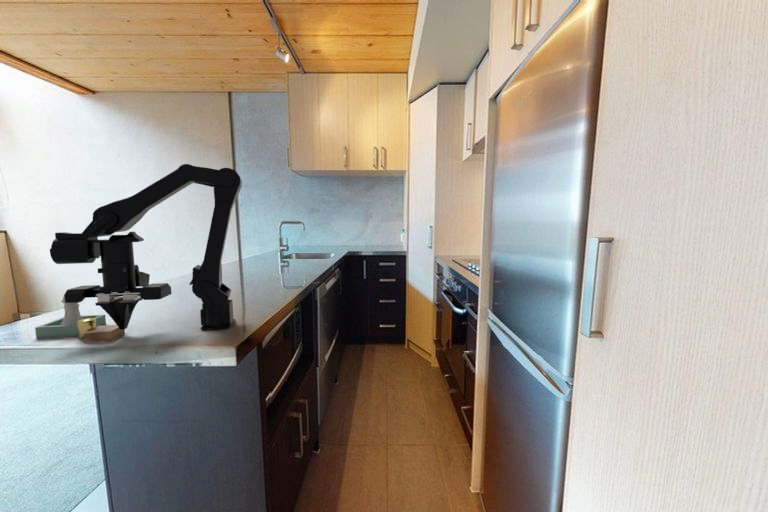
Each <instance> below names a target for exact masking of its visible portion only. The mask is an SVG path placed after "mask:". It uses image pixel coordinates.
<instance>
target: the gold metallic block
mask: <svg viewBox="0 0 768 512" xmlns="http://www.w3.org/2000/svg"><path fill="white" fill-rule="evenodd" d="M77 323H78V333H79V336H78V340H80V339H85V336H84V333H86V332H88V331H90V330H92V329H94V328H96V319H95V318H88V319H82V320H79V321H77Z"/></svg>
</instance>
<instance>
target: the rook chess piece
mask: <svg viewBox="0 0 768 512" xmlns="http://www.w3.org/2000/svg"><path fill="white" fill-rule="evenodd" d="M61 302H62V304H63V305H64V306H63V307H62V308H63V309H64V316H63V317H64V319H63V322H62V323H61V325H78V323H77V321H79V320H82V319H83V317H81V316H82V315H81V312H80V308H79V307H80V304H79V303H65V302H64V296H63V297H62V299H61Z"/></svg>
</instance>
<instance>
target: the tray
mask: <svg viewBox="0 0 768 512" xmlns="http://www.w3.org/2000/svg"><path fill="white" fill-rule="evenodd" d="M81 317H83V319H88V318H95V319H96V327H98V326H104V325H107V320H106V314H91V315H90V314H87V315H86V314H85V315H81ZM63 319H64V316H62V317H60V318H57V319H55V320H52V321H49V322H47V323H44V324H42V325H38V326H35V327H34V329H35V338H36V339H47V338H48V339H50V338H51V339H52V338H68V337H70V338H71V337H79V333H78V325H61V323H62V322H63Z"/></svg>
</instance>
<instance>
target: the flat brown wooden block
mask: <svg viewBox="0 0 768 512" xmlns="http://www.w3.org/2000/svg"><path fill="white" fill-rule="evenodd" d="M125 330H126V329H123V330H121V329H120V328H119V327H118V326H117V324H108V325H107V324H105V325H103V326H98V327H96V328H94V329H92V330H90V331H88V332H86V333H84V336H85V340H84V343H85V342H90V343H100V341H104V342H113V341H114V339H115V340H116V339H118V338H119V337H121V336H123V335H124V334H125V333H126V331H125ZM122 334H123V335H122ZM117 337H118V338H117ZM112 340H113V341H112Z"/></svg>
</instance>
